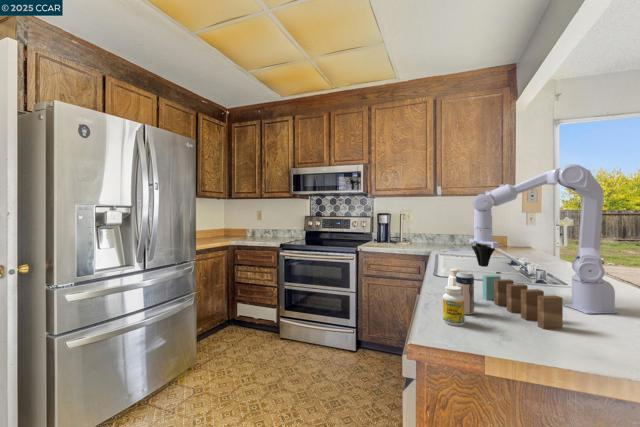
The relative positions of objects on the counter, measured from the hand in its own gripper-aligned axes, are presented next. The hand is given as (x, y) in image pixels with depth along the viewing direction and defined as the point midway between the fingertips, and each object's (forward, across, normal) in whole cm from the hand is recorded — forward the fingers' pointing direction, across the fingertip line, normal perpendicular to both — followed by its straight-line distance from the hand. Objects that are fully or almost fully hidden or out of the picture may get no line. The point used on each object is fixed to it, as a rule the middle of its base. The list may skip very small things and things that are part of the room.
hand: (483, 266), depth 105 cm
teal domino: (+10, +5, 0) cm, 11 cm away
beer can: (+11, +17, -16) cm, 26 cm away
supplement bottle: (+11, +24, -23) cm, 35 cm away
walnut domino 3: (+10, +23, 0) cm, 25 cm away
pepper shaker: (+11, +7, -14) cm, 19 cm away
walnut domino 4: (+10, +29, 0) cm, 31 cm away
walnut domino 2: (+10, +17, 0) cm, 20 cm away
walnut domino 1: (+10, +11, 0) cm, 15 cm away
